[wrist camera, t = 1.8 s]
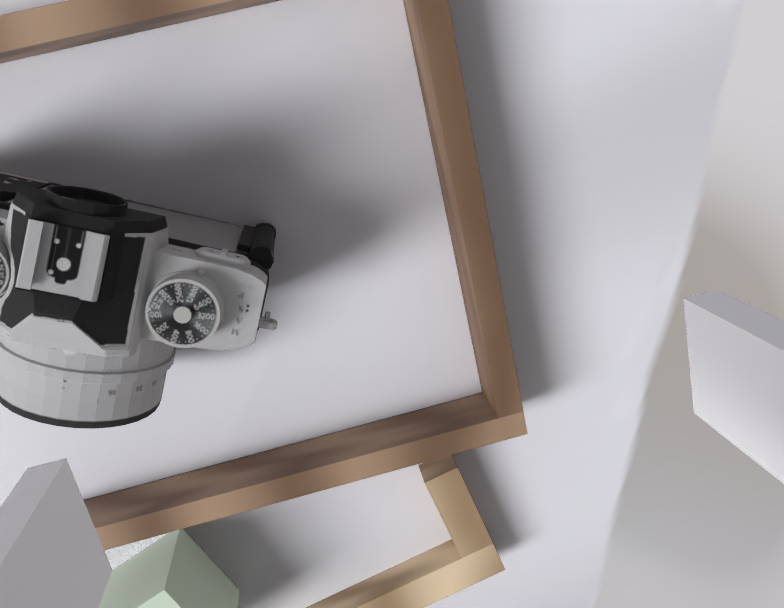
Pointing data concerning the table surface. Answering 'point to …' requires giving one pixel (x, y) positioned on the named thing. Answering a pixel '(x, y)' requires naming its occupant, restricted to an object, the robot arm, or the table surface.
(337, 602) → the crook
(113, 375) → the camera
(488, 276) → the brown wooden u frame
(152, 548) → the sage cube
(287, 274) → the table surface
